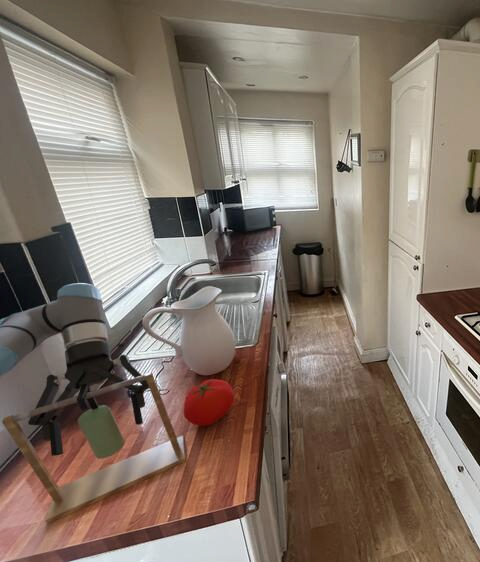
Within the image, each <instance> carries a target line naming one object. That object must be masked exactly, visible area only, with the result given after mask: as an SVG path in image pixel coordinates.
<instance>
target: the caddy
mask: <svg viewBox="0 0 480 562" xmlns="http://www.w3.org/2000/svg"><path fill="white" fill-rule="evenodd" d="M91 391H92V389H91V386H90V387H89V385H88V383H87V384H84V385H82V386H81V389H80V390H79V391H78V394H77V396H78V397H77V402H76V403H77V404H78V406H79V408H80V410H81V411H84V410H86V411H85V412H83V413H82V414H81V415H80V416H79V417H78V418H77V424H78V426H79V428H80V429H81V432H82V433H83V435H84V438H85V439H86V441H87V443H88V445H89V447H90V449H91V451H92V452H93V454H94V456H95V458H97V459H99V460H101V459H107V458H110V457H112V456H113V455H115V454H117V453H118V452H119V451H121V449H123V447H124V446H125V443H126V441H125V438H124V436H123V434H122V432H121V430H120V427H119V425H118V423H117V421H116V419H115V416H114V415H113V412H112V410H111V408H110V406H108V405H106V404H103V405H99V403H98V401H97V399H96V396H94V397H91V398H88V399H85V397H86V394H87V393H88V392H91ZM89 407H90V409H89Z"/></svg>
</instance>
